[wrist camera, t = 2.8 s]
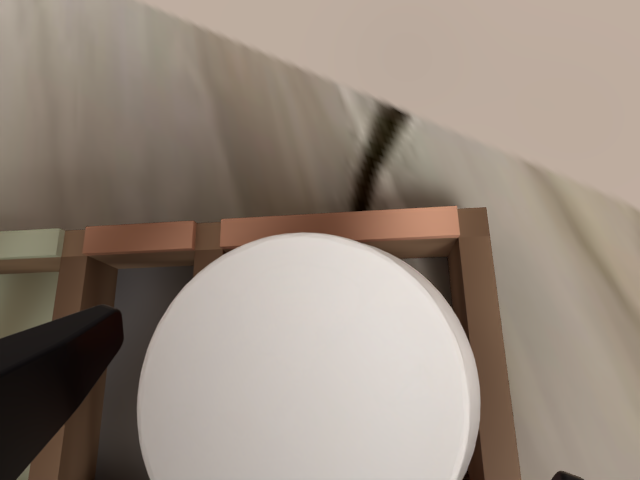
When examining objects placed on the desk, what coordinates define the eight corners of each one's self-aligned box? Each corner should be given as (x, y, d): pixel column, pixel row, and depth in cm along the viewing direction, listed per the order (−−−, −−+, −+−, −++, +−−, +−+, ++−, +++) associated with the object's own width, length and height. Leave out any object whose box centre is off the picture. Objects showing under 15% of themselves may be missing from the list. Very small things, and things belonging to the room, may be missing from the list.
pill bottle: (260, 303, 18) (99, 196, 8) (421, 290, 17) (490, 156, 7) (264, 480, 16) (59, 667, 6) (444, 472, 16) (584, 662, 5)
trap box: (471, 230, 18) (488, 204, 15) (510, 561, 15) (539, 601, 12) (-91, 258, 20) (-161, 240, 18) (-161, 546, 17) (-260, 576, 15)
